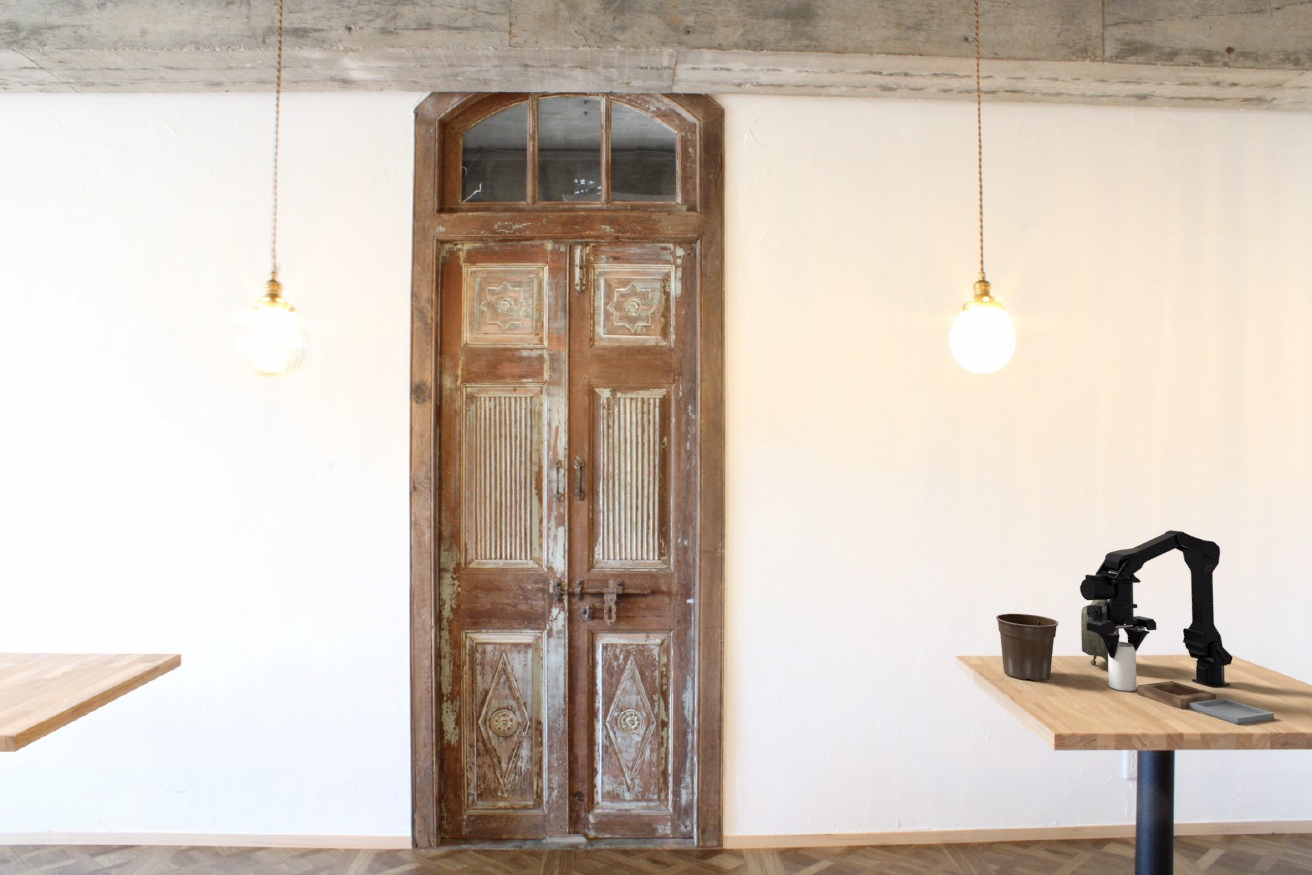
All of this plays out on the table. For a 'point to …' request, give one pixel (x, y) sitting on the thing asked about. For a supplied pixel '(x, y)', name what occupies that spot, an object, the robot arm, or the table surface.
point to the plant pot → (1027, 645)
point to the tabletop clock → (1093, 636)
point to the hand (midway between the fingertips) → (1121, 656)
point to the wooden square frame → (1165, 690)
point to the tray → (1231, 711)
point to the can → (1123, 668)
